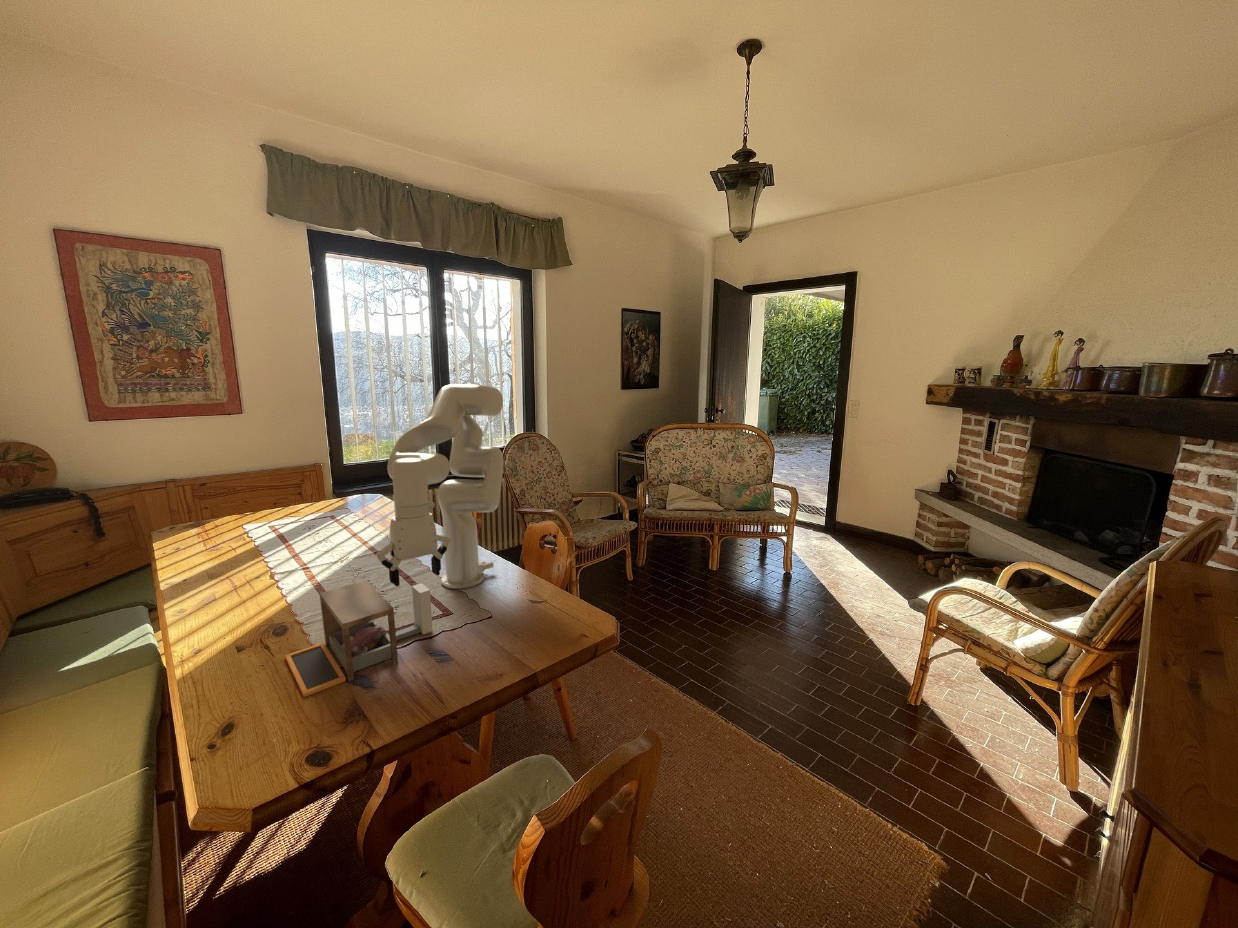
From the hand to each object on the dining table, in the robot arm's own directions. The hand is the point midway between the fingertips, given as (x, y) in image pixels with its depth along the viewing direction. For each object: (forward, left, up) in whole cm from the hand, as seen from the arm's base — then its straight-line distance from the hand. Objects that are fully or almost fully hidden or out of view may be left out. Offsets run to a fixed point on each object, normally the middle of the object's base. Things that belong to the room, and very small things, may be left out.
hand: (416, 578), depth 119 cm
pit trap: (+23, 0, -14) cm, 27 cm away
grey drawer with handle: (+8, 0, -14) cm, 16 cm away
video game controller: (+13, 0, -14) cm, 19 cm away
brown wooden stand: (+14, 0, -14) cm, 20 cm away
